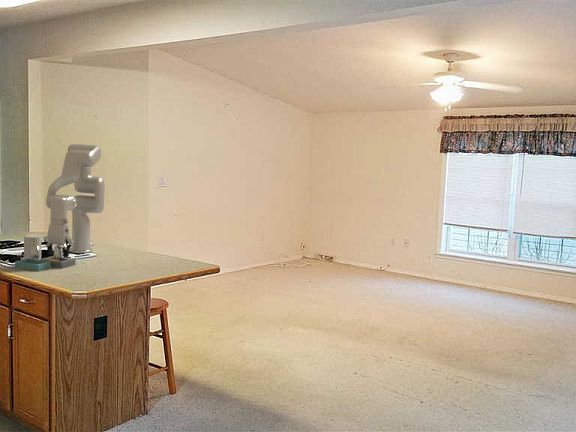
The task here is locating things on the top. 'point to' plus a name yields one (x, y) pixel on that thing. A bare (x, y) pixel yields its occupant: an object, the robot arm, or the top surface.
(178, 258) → the top surface
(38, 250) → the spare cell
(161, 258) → the top surface
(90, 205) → the robot arm
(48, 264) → the trough
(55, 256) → the steel cell
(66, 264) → the gray tray
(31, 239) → the cup
